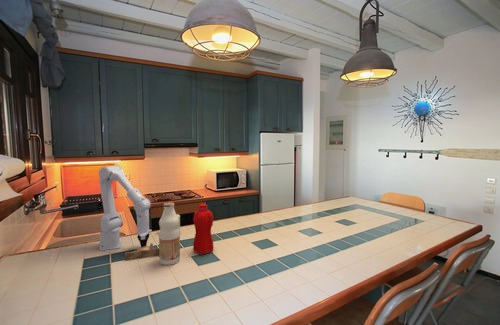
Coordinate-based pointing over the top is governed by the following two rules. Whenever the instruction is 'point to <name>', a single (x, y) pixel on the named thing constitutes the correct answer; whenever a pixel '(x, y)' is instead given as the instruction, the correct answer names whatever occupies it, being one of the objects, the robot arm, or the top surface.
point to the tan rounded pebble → (143, 248)
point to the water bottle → (203, 230)
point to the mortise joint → (142, 253)
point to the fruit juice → (169, 236)
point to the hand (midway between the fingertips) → (143, 248)
